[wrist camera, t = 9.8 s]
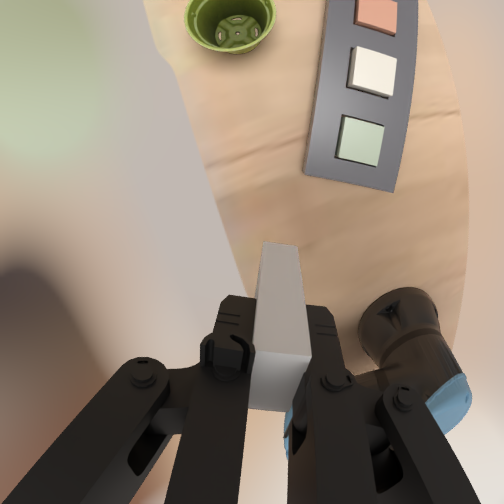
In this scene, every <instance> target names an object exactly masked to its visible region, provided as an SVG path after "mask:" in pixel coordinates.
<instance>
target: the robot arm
mask: <svg viewBox="0 0 504 504" xmlns="http://www.w3.org/2000/svg"><path fill="white" fill-rule="evenodd" d="M335 327H336V325H335V321H334V317H333V315H332V314H331V313H330V311H329V310H328V309H327V308H326V307H323V306H314V305H306V304H305V296H304V289H303V282H302V275H301V268H300V261H299V254H298V248H297V246H293V245H287V244H280V243H273V242H266V241H264V242H263V248H262V254H261V261H260V267H259V273H258V279H257V286H256V292H255V298H248V297H241V296H234V295H228V296H227V297H226V298H225V299H224V300H223V301H222V302H221V304H220V308H219V311H218V315H217V319H216V322H215V326H214V329H213V333H211V334H209V335H207V336H206V337H205V338H204V339H203V340H202V342H201V344H200V362H199V363H198V364H196V365H194V366H192V367H188V368H182V369H166V367H165V366H164V364H162V363H161V362H159V361H158V360H156V359H152V358H149V357H137V358H134V359H131V360H129V361H127V362H126V363H125V364H123V365H122V366H121V367H120V368H119V369H118V371H117V372H116V373H115V374H114V375H113V376H112V377H111V378H110V379H109V380H108V382H107V383H106V384H105V385H104V386H103V387H102V388H101V389H100V390H99V392H98V393H97V394H96V395H95V396H94V397H93V398H92V399H91V400H90V402H89V403H88V404H87V405H86V406H85V407H84V408H83V409H82V411H81V412H80V413H79V414H78V415H77V416H76V418H75V419H74V420H73V421H72V422H71V423H70V424H69V425H68V426H67V428H66V429H65V430H64V431H63V432H62V434H60V436H59V437H58V438H57V439H56V440H55V441H54V443H53V444H52V445H51V446H50V447H49V448H48V450H47V451H46V452H45V453H44V454H43V455H42V456H41V457H40V459H39V460H38V461H37V462H36V463H35V464H34V466H33V467H32V468H31V469H30V470H29V472H28V473H27V474H26V475H25V476H24V478H23V479H22V480H21V481H20V482H19V483H18V485H17V486H16V487H15V488H14V489H13V491H12V492H11V493H10V494H9V496H8V497H7V498H6V499H5V500H4V501H3V503H2V504H129V503H130V501H131V500H132V498H133V497H134V495H135V494H136V492H137V491H138V489H139V488H140V486H141V485H142V483H143V482H144V480H145V478H146V477H147V475H148V474H149V472H150V471H151V469H152V468H153V466H154V464H155V463H156V461H157V460H158V458H159V456H160V455H161V453H162V452H163V450H164V449H165V447H166V446H167V444H168V442H169V441H170V439H171V438H172V436H173V435H174V434H182V435H181V439H180V442H179V446H178V450H177V454H176V458H175V462H174V466H173V470H172V474H171V478H170V482H169V486H168V490H167V494H166V498H165V502H164V504H237V503H238V494H239V486H240V477H241V468H242V459H243V449H244V441H245V431H246V422H247V413H248V408H250V409H258V410H268V411H278V412H286V414H285V421H284V422H285V423H284V437H283V438H284V447H285V449H286V457H287V459H288V492H287V504H481V503H480V501H479V499H478V497H477V495H476V493H475V491H474V489H473V487H472V485H471V483H470V481H469V479H468V477H467V476H466V474H465V472H464V470H463V468H462V466H461V464H460V462H459V460H458V459H457V457H456V455H455V453H454V451H453V450H452V448H451V446H450V444H449V443H448V441H447V439H446V438H445V436H444V435H445V434H446V433H448V432H449V431H450V430H451V429H453V428H454V427H455V426H456V425H457V424H458V423H459V422H460V421H461V420H462V419H463V417H464V416H465V415H466V413H467V412H468V410H469V408H470V406H471V402H472V393H471V390H470V388H469V385H468V383H467V380H466V376H465V374H464V373H463V372H462V370H461V368H460V366H459V364H458V363H457V361H456V359H455V357H454V355H453V354H452V352H451V350H450V348H449V346H448V345H447V343H446V341H445V340H444V338H443V336H442V334H441V331H440V325H439V321H438V312H437V309H436V306H435V304H434V302H433V301H432V299H431V298H430V297H429V295H428V294H427V293H425V292H424V291H422V290H420V289H417V288H401V289H397V290H394V291H391V292H389V293H387V294H385V295H383V296H382V297H380V298H379V299H378V300H376V301H375V302H374V303H373V304H372V305H371V306H370V307H369V308H368V309H367V310H366V312H365V313H364V315H363V317H362V319H361V321H360V324H359V328H358V335H359V339H360V342H361V345H362V348H363V350H364V351H365V352H366V354H367V355H368V356H370V357H371V358H372V359H373V361H374V362H375V364H376V365H377V366H378V367H379V369H377V370H374V371H370V372H367V373H364V374H360V375H356V376H354V375H353V374H352V373H351V372H350V371H349V370H347V369H345V366H344V361H343V356H342V352H341V347H340V343H339V338H338V337H337V335H338V334H337V330H336V328H335Z"/></svg>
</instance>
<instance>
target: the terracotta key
mask: <svg viewBox="0 0 504 504" xmlns="http://www.w3.org/2000/svg"><path fill="white" fill-rule="evenodd" d="M353 24H354V25H358V26H361V27H364V28H368V29H371V30H374V31H377V32H380V33H383V34H386V35H389V36H392V35H394V34H395V33H396V25H397V2H394V1H391V0H355V7H354V19H353Z"/></svg>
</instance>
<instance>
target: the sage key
mask: <svg viewBox="0 0 504 504" xmlns="http://www.w3.org/2000/svg"><path fill="white" fill-rule="evenodd" d="M384 128H385V127H382V126H379V125H375V124H372V123H368V122H364V121H361V120H357V119H353V118H348V117H341V121H340V127H339V133H338V139H337V145H336V150H335V155H336V156H337V157H339V158H344V159H348V160H353V161H357V162H362V163H366V164H370V165H374V166H377V164H378V159H379V155H380V149H381V144H382V139H383V134H384Z"/></svg>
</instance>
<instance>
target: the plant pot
mask: <svg viewBox="0 0 504 504" xmlns="http://www.w3.org/2000/svg"><path fill="white" fill-rule="evenodd" d="M233 18H242V20H232V19H233ZM275 19H276V7H275V3H274V1H273V0H190V1H189V3H188V5H187V7H186V10H185V14H184V22H185V27H186V30H187V32H188V33H189V35H190V36H191V38H192V39H193V40H194V41H196V42H197V43H198V44H200V45H201V46H203V47H205V48H208V49H211V50H214V51H221V52H228V53H231V54H243V53H247V52H249V51H251V50H253V49H254V48H255V47H256V46H257V45H258V44H259V43H260V41H261V40H262V39H264V38H265V37H266V36H267V35H268V33H269V32H270V31H271V29H272V27H273V25H274V23H275ZM255 28H257V29H258V36H257V37H256V36H255ZM219 32H221V40H220V39H219V37H218V33H219ZM236 32H240V34H239V35H236Z"/></svg>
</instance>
